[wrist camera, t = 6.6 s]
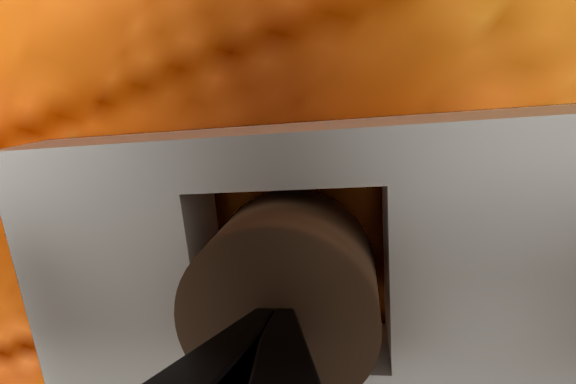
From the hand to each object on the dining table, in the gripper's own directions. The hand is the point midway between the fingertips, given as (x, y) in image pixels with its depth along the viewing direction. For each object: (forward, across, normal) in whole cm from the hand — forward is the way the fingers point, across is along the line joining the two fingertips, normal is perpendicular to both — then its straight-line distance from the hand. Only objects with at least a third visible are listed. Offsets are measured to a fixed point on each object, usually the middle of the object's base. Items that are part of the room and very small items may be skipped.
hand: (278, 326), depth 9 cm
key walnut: (+3, 0, 0) cm, 3 cm away
